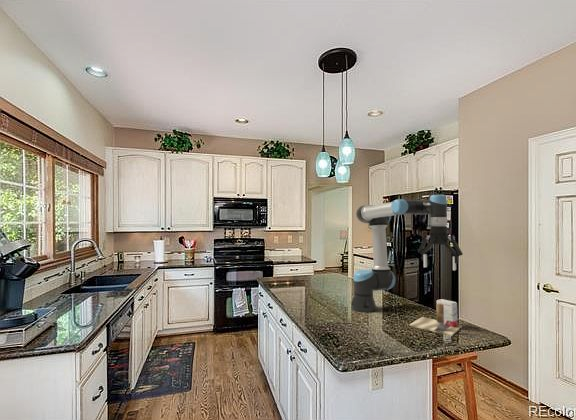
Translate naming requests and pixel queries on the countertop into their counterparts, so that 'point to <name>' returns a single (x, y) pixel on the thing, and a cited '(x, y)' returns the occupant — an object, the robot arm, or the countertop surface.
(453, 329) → the subfloor board
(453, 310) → the ink box
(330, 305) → the countertop surface
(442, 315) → the awl dowel
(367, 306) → the robot arm
